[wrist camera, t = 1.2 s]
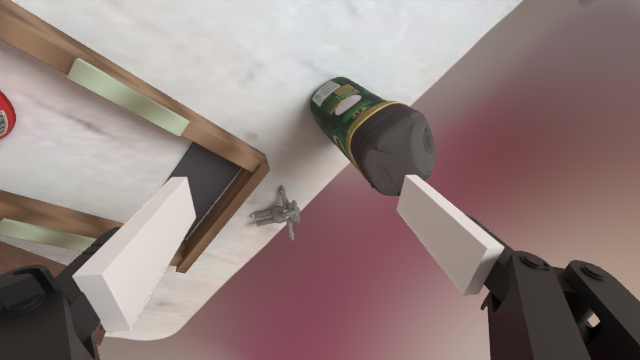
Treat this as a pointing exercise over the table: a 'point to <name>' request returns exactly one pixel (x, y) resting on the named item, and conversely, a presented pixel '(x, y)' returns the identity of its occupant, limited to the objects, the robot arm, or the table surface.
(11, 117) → the canned food
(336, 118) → the coffee jar
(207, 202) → the pad
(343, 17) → the table surface
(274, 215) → the grey toy figurine
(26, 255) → the tissue box cover
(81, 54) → the lane box
